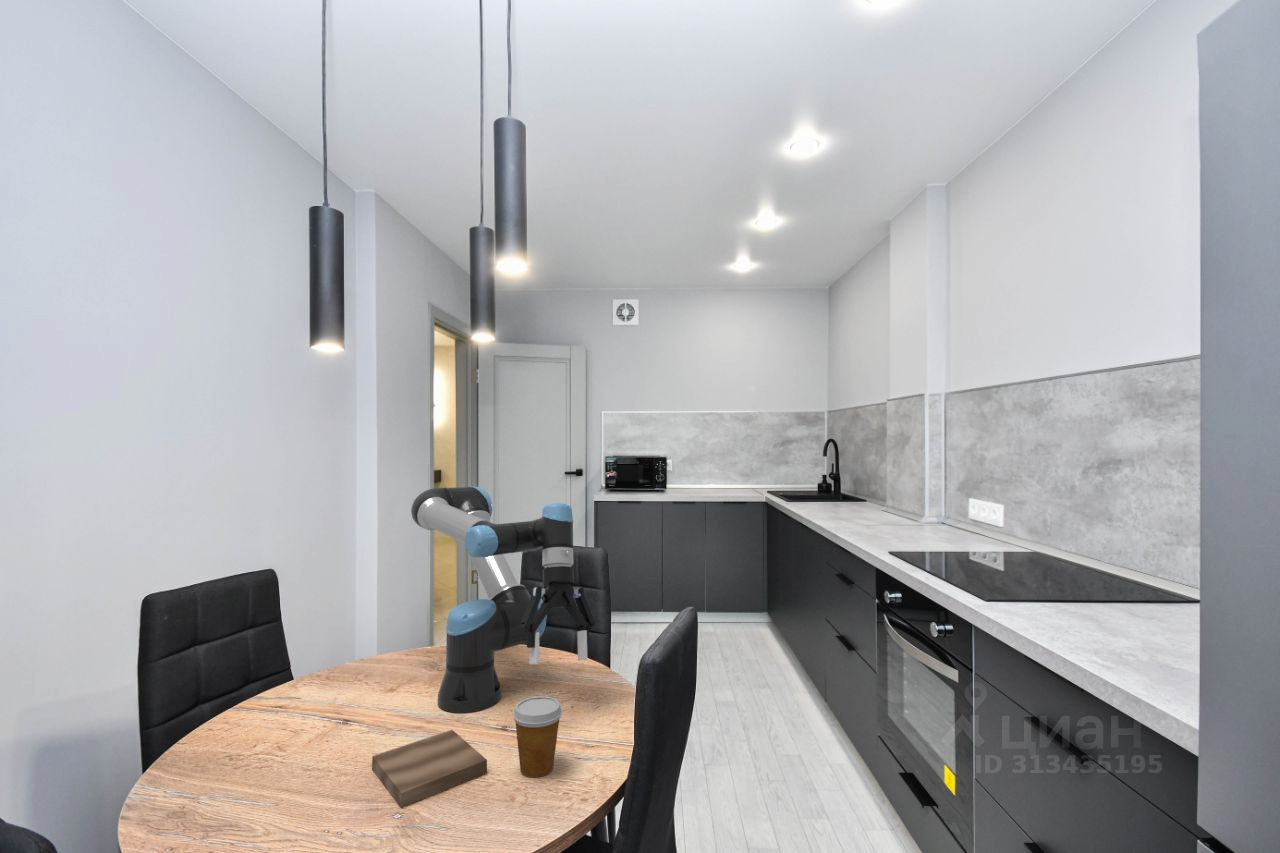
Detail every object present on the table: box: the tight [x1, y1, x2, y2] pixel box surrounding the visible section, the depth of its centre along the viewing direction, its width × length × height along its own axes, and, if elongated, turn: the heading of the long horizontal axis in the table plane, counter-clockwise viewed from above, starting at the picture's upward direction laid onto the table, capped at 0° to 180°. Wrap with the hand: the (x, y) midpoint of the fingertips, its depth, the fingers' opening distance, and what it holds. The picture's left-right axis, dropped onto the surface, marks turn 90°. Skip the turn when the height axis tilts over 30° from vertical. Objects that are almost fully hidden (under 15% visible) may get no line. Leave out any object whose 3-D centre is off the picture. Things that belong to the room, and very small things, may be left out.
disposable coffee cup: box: [512, 696, 563, 779], centre depth 109 cm, size 10×10×12 cm
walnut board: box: [371, 729, 488, 808], centre depth 107 cm, size 16×16×2 cm
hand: (559, 661), depth 128 cm, fingers open, 13 cm apart
